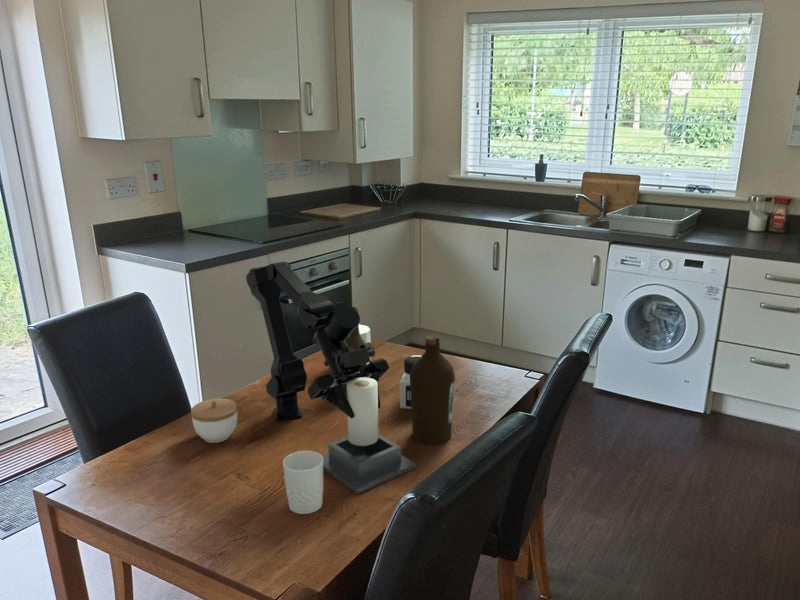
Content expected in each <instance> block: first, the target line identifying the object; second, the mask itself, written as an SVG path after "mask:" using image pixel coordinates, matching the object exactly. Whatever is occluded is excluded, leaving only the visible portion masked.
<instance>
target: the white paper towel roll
mask: <svg viewBox="0 0 800 600" xmlns="http://www.w3.org/2000/svg"><path fill="white" fill-rule="evenodd" d="M378 389H379V382H378V383H377V381H376V380H374V379H372V378H365V377H361V378H354V379H351V380H349V381H348V382H347V394H346V398H347V400H348V402H349V404H350V406H351V408H352V410H353V413H354V418H350V417H349V416H348V415H347V437H348V440H349V442H350V443H352V444H354V445H358V446H367V445H371V444H374V443H375V442H377V441H378V434H379V409H378Z"/></svg>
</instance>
